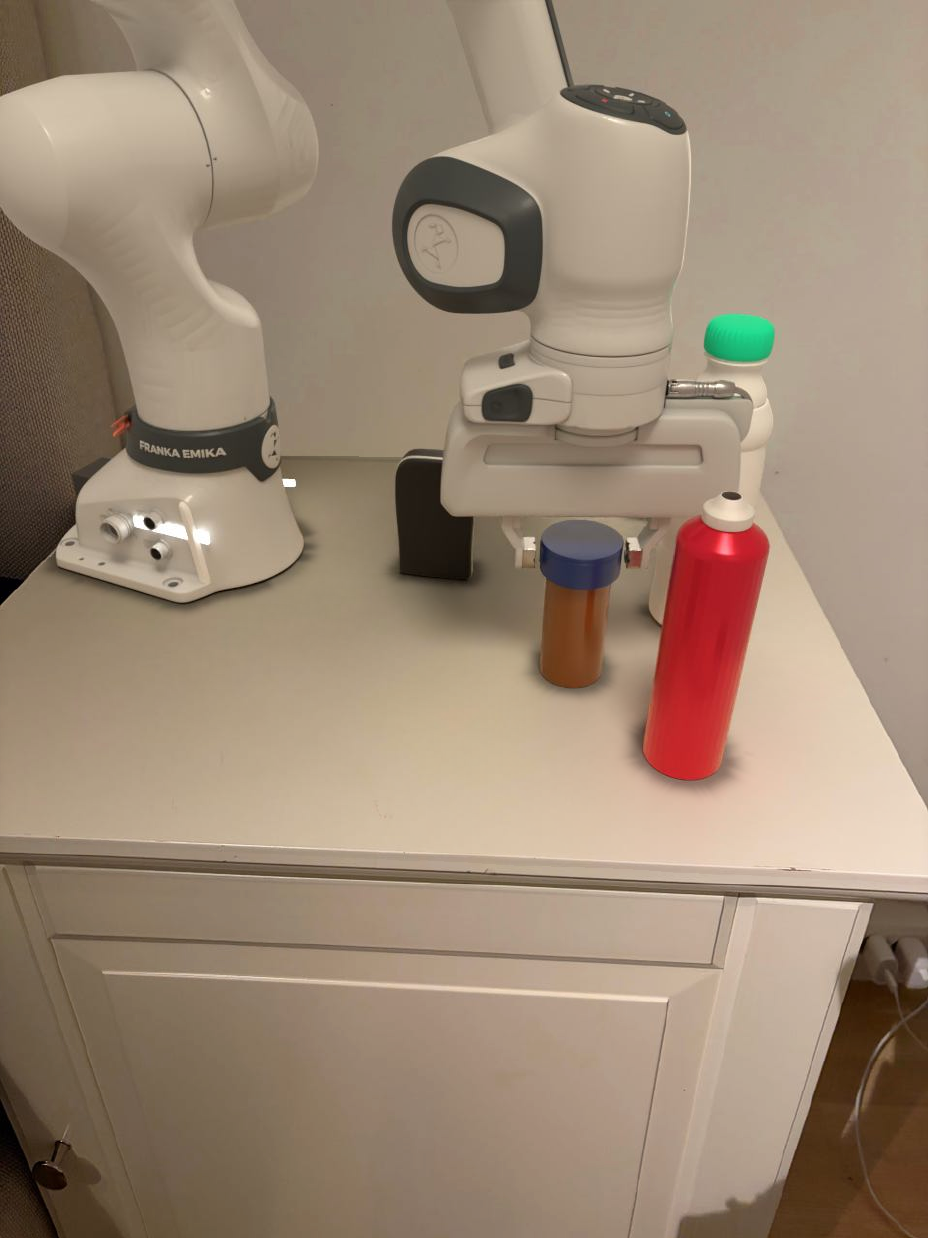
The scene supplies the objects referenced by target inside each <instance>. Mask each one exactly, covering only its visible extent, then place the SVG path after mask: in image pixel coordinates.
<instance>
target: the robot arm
mask: <svg viewBox="0 0 928 1238" xmlns="http://www.w3.org/2000/svg"><path fill="white" fill-rule="evenodd" d="M89 1H90V2H92V3H93V4H95V5H97V6H98V7H101V8H102V10H104V11H106V13H107V14H108V15H109V16H110V18H112V20H113V21H114V22H115V23H116V25H117V26H118V28H119V29H120V31H121V33H122V34H123V36H124V38H125V40H126V42H127V44H128V47H129V48H130V51H131V54H132V56H133V57H132V58H133V59H134V63H135V67H136V70H129V71H113V72H112V71H111V72H97V73H83V74H82V73H81V74H65V75H60V76H57V77H53V78H50V79H46V80H43V81H40V82H36V83H34V84H30V85H27V86H24V87H22V88H19V89H16V90H14V91H10V92H7V93H6V94H3V95H1V96H0V209H1V211H2V212H3V214H4V215H5V216H6V217H7V219H9V221H10V222H11V223H12V225H13V226H14V227H15V228H17V230H18V231H20V232H21V233H22V234H23V235H24V236H25V237H27V238H28V239H29V240H30V241H32V242H33V243H35V244H36V245H38V246H40V247H41V248H43V249H45V250H47V251H49V252H50V253H53V254H54V255H56V256H57V257H58V258H61V259H62V260H64V261H65V262H66V263H68V264H69V265H70V266H71V267H72V268H74V269H75V270H76V271H77V272H78V273H79V274H80V275H82V277H83V278H84V279H85V280H86V281H87V282H88V284H90V286H91V287H92V289H94V290H95V292H96V293H97V295H98V296H99V298H100V299H101V302H103V304H104V306H105V307H106V309H107V311H108V313H109V315H110V317H111V320H112V321H113V323H114V326H115V329H116V331H117V334H118V337H119V341H120V345H121V348H122V351H123V355H124V359H125V363H126V367H127V370H128V375H129V379H130V384H131V387H132V393H133V398H134V402H135V405H133V406H131V407H129V408H128V409H127V410H125V411H124V412H123V416H122V417H121V418H119V419H118V420H116V421H115V422H114V423H112V424H111V425H110V427H111V428H112V429H113V428H115V430H114V431H113V434H112V437H114V438H118V436H120V435H122V434H123V433H124V432H126V431H127V438H126V444H125V447H124V448H123V449H122V450H120V451H119V452H118V453H117V454H116V455H115V456H113V457H112V458H108V457H103V456H102V457H100V458H98V459H96V460H94V461H92V462H90V463H89V464H87V465H85V466H83V467H81V468H80V469H78V470H76V471H74V472H72V473H71V474H70V475H71V479H72V484H73V487H74V492H75V496H76V502H75V524H74V525H73V526H72V527H70V529H69V530H68V531H67V532H66V533H65V534H64V536H63V537H62V538H61V539H60V541H59V543H58V545H57V547H56V550H55V560H56V565H57V566H58V567H59V568H62V569H65V570H68V571H71V572H73V573H78V574H81V575H84V576H87V577H91V578H94V579H98V580H102V581H104V582H108V583H110V584H114V585H118V586H121V587H124V588H127V589H131V590H134V591H137V592H141V593H144V594H148V595H150V596H154V597H157V598H161V599H164V600H167V601H171V602H173V603H180V604H181V603H183V604H184V603H189V602H193V601H196V600H199V599H202V598H204V597H206V596H208V595H211V594H213V593H216V592H219V591H224V590H230V589H234V588H240V587H245V586H249V585H253V584H255V583H259V582H262V581H265V580H267V579H270V578H272V577H274V576H275V575H278V574H280V573H282V572H283V571H285V570H286V569H288V568H289V567H290V566H292V565H293V564H294V563H295V562H296V561H297V560H298V559H299V557H300V556H301V554H302V552H303V550H304V548H305V547H304V545H305V539H304V536H303V534H302V532H301V530H300V528H299V525H298V522H297V521H296V518H295V516H294V513H293V510H292V508H291V503H290V500H289V497H288V494H287V491H286V487H289V488H291V487H292V488H294V487H296V480H295V479H289V478H283V473H282V468H281V464H282V443H281V433H280V429H279V422H278V415H277V413H278V412H277V407H276V402H275V400H274V399H273V397H272V396H270V389H269V380H268V379H269V378H268V370H267V362H266V361H267V360H266V353H265V344H264V335H263V328H262V327H263V326H262V325H263V324H262V322H261V319H260V316H259V314H258V312H257V311H256V309H255V308H254V307H253V306H252V304H251V303H250V302H249V301H248V300H247V299H246V298H245V297H244V296H243V295H242V294H241V293H239V292H238V291H236V290H235V289H233V288H232V287H230V286H227V285H225V284H224V283H220V282H217V281H215V280H213V279H211V278H207V277H206V275H205V274H204V272H203V270H202V268H201V266H200V264H199V261H198V258H197V255H196V252H195V251H196V250H195V247H194V235H195V234H198V233H203V232H208V231H213V230H219V229H224V228H229V227H234V226H240V225H245V224H249V223H254V222H258V221H261V220H263V219H265V218H268V217H270V216H271V215H274V214H276V213H278V212H280V211H282V210H285V209H286V208H288V207H290V206H292V205H293V204H295V203H297V202H299V201H300V200H302V199H303V198H304V197H305V196H306V195H307V194H308V193H309V192H310V190H311V188H312V187H313V184H314V182H315V179H316V176H317V171H318V166H319V157H320V149H319V148H320V146H319V137H318V131H317V128H316V123H315V120H314V117H313V115H312V112H311V110H310V108H309V106H308V104H307V102H306V101H305V99H304V97H303V96H302V95H301V93H300V91H299V90H298V89H297V87H295V86H294V85H293V83H291V82H290V81H289V80H287V79H286V78H285V77H284V76H283V75H282V74H281V73H280V72H279V71H278V70H276V68H275V67H274V66H273V65H272V64H271V63H270V62H269V61H268V59H267V57H266V56H265V55H264V53H263V52H262V51H261V49H260V48H259V47H258V45H257V44H256V41H255V39H254V38H253V37H252V35H251V32H250V31H249V30H248V28H247V26H246V24H245V22H244V19H243V18H242V16H241V14H240V11H239V9H238V7H237V4H236V3H235V0H89ZM445 2H446V4H447V6H448V9H449V11H450V12H451V15H452V17H453V20H454V23H455V27H456V30H457V33H458V37H459V39H460V42H461V46H462V50H463V52H464V55H465V58H466V61H467V65H468V68H469V72H470V74H471V78H472V81H473V84H474V89H475V90H476V91H475V92H476V94H477V97H478V100H479V104H480V106H481V110H482V114H483V117H484V119H485V123H486V127H487V133H488V135H487V136H485V137H483V138H482V137H481V138H480V139H477V140H474V141H470V142H466V143H464V144H461V145H458V146H454V147H451V148H449V149H445V150H443V151H440V152H437V153H436V154H433V155H432V156H430V157H428V158H426V159H424V160H422V161H420V162H419V163H417V164H416V165H415V166H414V167H413V168H412V169H410V171H408V173H407V174H406V176H405V177H404V179H402V182H401V184H400V186H399V187H398V190H397V193H396V196H395V199H394V204H393V209H392V217H391V234H392V235H391V236H392V243H393V248H394V253H395V256H396V259H397V262H398V264H399V268H400V269H401V271H402V273H403V275H404V277H405V278H406V280H407V282H408V284H409V285H410V286H411V288H412V289H413V290H414V291H415V292H416V294H417V295H419V296H420V298H422V299H423V301H425V302H426V303H428V304H429V305H430V306H432V307H434V308H436V309H438V310H440V311H442V312H446V313H451V314H463V315H464V314H465V315H466V314H467V315H484V314H487V315H488V314H503V313H511V312H515V311H516V312H521V313H524V315H526V316H527V317H528V319H529V325H530V329H529V330H530V331H529V332H530V333H529V339H526V340H523V341H521V342H517V343H514V344H512V345H509V346H505V347H502V348H499V349H496V350H491V351H489V352H485V353H482V354H479V355H476V356H473V357H471V358H469V359H467V360H466V361H465V362H464V364H463V366H462V370H461V372H460V377H459V401H458V402H457V403H456V405H455V406H454V407H453V409H452V411H451V413H450V415H449V418H448V422H447V427H446V432H445V438H444V445H443V450H444V451H443V460H442V472H441V504H442V505H443V507H444V508H445V509H446V510H447V511H448V512H449V513H450V514H451V515H452V516H459V517H460V516H475V517H476V518H477V517H481V518H482V517H484V518H485V517H489V518H491V517H493V518H494V517H495V518H496V517H498V518H499V517H500V525H501V526H500V527H501V530H502V532H503V534H504V535H505V537H506V538H507V541H509V543H510V545H511V546H512V548H513V563H514V565H513V566H514V569H536V563H537V562H536V558H537V544H536V537H535V536H524V534H523V532H522V530H521V528H522V520H523V518H633V519H634V518H638V519H639V518H643V519H644V518H645V519H646V522H647V523H646V524H645V525H644V527H643V528H642V529H641V531H640V532H639V533H638V535H637V537H635V536H634V537H625V543H624V547H625V550H623V562H624V564H625V568H626V569H629V570H632V569H633V570H635V569H637V570H639V569H640V570H647V569H648V566H649V560H650V554H651V550H653V549H654V548H655V547H656V546H657V545H658V543H659V541H660V540H661V539H662V537H663V536H664V535H665V534H666V533H667V532H668V531H669V527H670V521H671V518H693V517H695V516H698V515H702V510H703V505H704V503H705V502H706V501H708V500H710V499H713V498H716V497H717V496H718V495H719V494H721V493H722V492H725V491H733V492H737V493H738V491H739V482H740V466H741V446H740V443H741V442H742V441H743V440H744V439H745V437H746V436H747V434H748V432H749V429H750V424H751V419H752V414H753V401H752V399H751V397H750V395H749V394H748V393H747V392H746V391H745V390H743V389H742V388H739V387H736V386H735V383H734V382H732V381H728V380H714V381H713V382H710V381H707V382H706V381H703V382H702V381H696V380H697V379H696V380H694V379H671V378H670V379H668V377H669V370H670V362H671V355H672V349H673V341H674V322H673V318H672V316H673V315H672V299H673V294H674V289H675V287H676V285H677V282H678V279H679V277H680V275H681V273H682V270H683V266H684V262H685V261H684V259H685V252H686V244H687V235H688V227H689V216H690V215H689V214H690V202H691V201H690V200H691V186H692V152H691V151H692V150H691V140H690V135H689V130H688V127H687V125H686V122H685V121H684V119H683V118H682V116H681V115H679V112H678V111H676V109H674V108H673V107H671V106H670V105H668V104H667V103H666V102H664V101H663V100H661V99H659V98H657V97H654V96H652V95H648V94H646V93H643V92H640V91H636V90H632V89H629V88H624V87H618V86H608V85H607V86H606V85H604V84H594V83H590V84H589V83H588V84H586V83H585V84H582V83H581V84H575V83H574V80H573V76H572V71H571V68H570V64H569V61H568V57H567V53H566V48H565V45H564V42H563V37H562V34H561V30H560V27H559V23H558V18H557V15H556V10H555V8H554V7H555V6H554V3H553V0H445ZM735 393H737V394H739V395H741V396H734V394H735Z"/></svg>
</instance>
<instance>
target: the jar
mask: <svg viewBox="0 0 928 1238" xmlns="http://www.w3.org/2000/svg"><path fill="white" fill-rule="evenodd" d="M611 590H612V584H610V585H608V586H606V587H603V588H599V589H594V590H575V589H569V588H565V587H561V586H558V585H556V584H554V583H552V582H550V581H549V580H547V579H546V578H545V583H544V596H543V597H544V598H543V611H542V612H543V614H542V625H541V640H540V654H539V671H540V673H541V675H542V677H543V678H544V679H545V680H546V681H548V682H550V683H551V684H553V685H554V686H555V685H556V686H557V687H558V686H559V687H562V688H569V689H579V688H584V687H585V688H586V687H589V686H591V685H593V684H594V683H595V682H597V681H598V680H599V678H600V677H601V674H602V668H603V667H602V666H603V658H604V649H605V642H606V641H605V640H606V633H607V632H606V631H607V623H608V615H609V609H610V608H609V606H610V600H611Z"/></svg>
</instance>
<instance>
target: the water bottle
mask: <svg viewBox="0 0 928 1238" xmlns="http://www.w3.org/2000/svg"><path fill="white" fill-rule="evenodd" d="M775 334H776V329H775V327H774V325H773V323H772V322H771V321H769V320H768V319H766V318H764V317H760V316H757V315H752V314H746V313H745V314H743V313H724V314H719V315H717V316H715V317H712V318H711V320H710V321H708V323H707V326H706V329H705V332H704V337H703V349H704V352H703V355H704V357H705V358H706V360H707V362H706V367H705V369H704V370H703V371H702V372H701V374H700V375H699V376H698V377H697V378H696V381H702V382H703V381H706V382H707V381H710V382H713V381H714V380H728V381H732V382H734V383H735V386H736V387H739V388H742V389H743V390H745V391H746V392H747V393H748V394H749V395H750V397H751V399H752V401H753V414H752V419H751V424H750V429H749V432H748V434H747V436H746V437H745V439H744V440H743V441H742V442H741V443H740V446H741V466H740V482H739V491H738V493H739V494H741V495H742V496H743V498H744V500H745V501H746V503H748V504H750V505H751V506H752V507H753V509H754V511H755V512H756V509H757V504H758V500H759V496H760V495H759V494H760V491H761V485H762V480H763V475H764V467H765V461H766V454H767V453H766V452H767V443H768V442H769V440H770V438H771V436H772V433H773V430H774V424H775V423H774V422H775V421H774V413H773V409H772V406H771V402H770V400H769V398H768V389H767V385H766V383H765V381H764V379H763V375H762V369H763V366H764V365H765V364H766V363H767V362H768V361H769V357H770V355H771V353H772V351H773V348H774V343H775V337H776V335H775ZM734 396H741V395H739V394H737V393H735V394H734ZM689 519H691V518H671V521H670V527H669V531H668V532H667V533H666V534H665V535H664V536H663V537H662V539H661V540H660V541H659V542H658V543H657V548H656V553H655V562H654V563H655V564H654V565H655V566H654V568H655V573H654V576H653V579H652V583H651V586H650V591H649V597H648V609H649V613H650V614H651V616H652V617H653V618H654V620H655V621H656V622H657V623H658V624H659V625H661V626H662V623H663V616H664V610H665V604H666V597H667V591H668V585H669V579H670V572H671V566H672V560H673V554H674V547H675V541H676V536H677V532H678V530H679V528H680V527H681V526H682V525H683V524H684V523H685V522H686V521H687V520H689Z"/></svg>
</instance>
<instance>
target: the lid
mask: <svg viewBox="0 0 928 1238" xmlns="http://www.w3.org/2000/svg"><path fill="white" fill-rule="evenodd" d="M624 544H625V543H624V538H623V535H621V533H620V532H619V531H618V530H616V529H615V528H613V527H612V526H609V525H607V524H605V523H603V522H599V521H595V520H588V519H567V520H562V521H558V522H555V523H552V524H550V525H548V526H547V527H546V528H545V529H544V530H543V531H542V534H541V537H540V540H539V555H538V562H539V571H540V573H541V574H542V576H543V577H544V578H545V580H546V579H547V580H549V581H550V582H552V583H554V584H556V585H558V586H561V587H565V588H569V589H575V590H594V589H599V588H603V587H606V586H608V585H610V584H611V585H612V584H614V583H615V582H616V581H617V580H618V578H619V577H620V575H621V568H622V561H623V553H624Z"/></svg>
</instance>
